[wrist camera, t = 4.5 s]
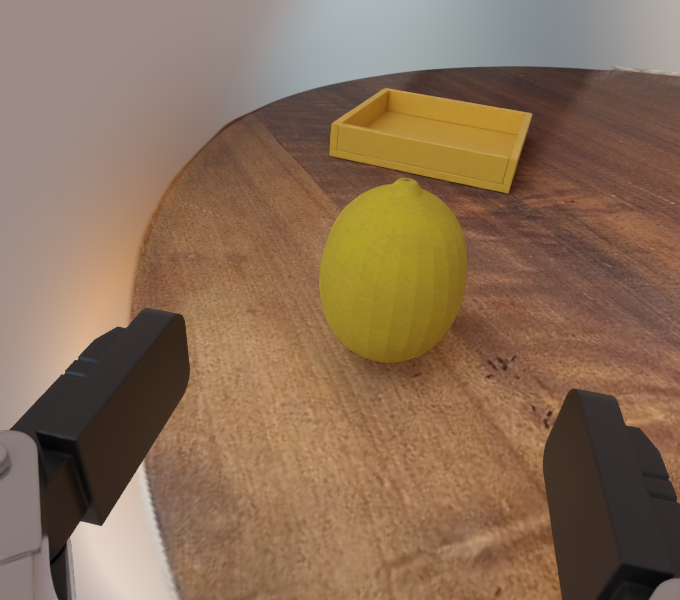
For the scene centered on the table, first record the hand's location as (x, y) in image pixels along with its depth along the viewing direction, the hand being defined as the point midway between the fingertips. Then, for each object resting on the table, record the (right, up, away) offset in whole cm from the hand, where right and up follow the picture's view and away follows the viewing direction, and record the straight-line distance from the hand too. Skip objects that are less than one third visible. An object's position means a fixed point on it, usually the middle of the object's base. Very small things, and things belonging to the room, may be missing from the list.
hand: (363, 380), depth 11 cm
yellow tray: (+8, +15, +35) cm, 39 cm away
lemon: (+1, -1, +12) cm, 12 cm away
